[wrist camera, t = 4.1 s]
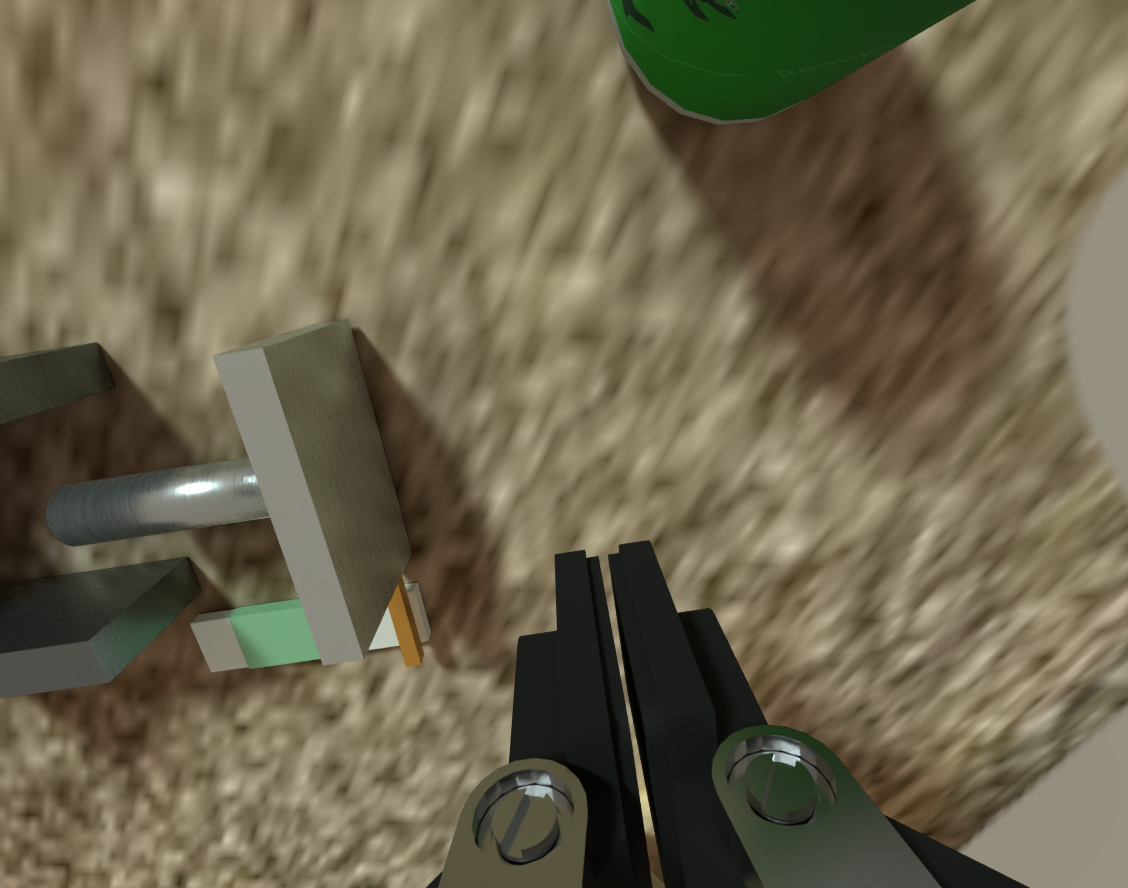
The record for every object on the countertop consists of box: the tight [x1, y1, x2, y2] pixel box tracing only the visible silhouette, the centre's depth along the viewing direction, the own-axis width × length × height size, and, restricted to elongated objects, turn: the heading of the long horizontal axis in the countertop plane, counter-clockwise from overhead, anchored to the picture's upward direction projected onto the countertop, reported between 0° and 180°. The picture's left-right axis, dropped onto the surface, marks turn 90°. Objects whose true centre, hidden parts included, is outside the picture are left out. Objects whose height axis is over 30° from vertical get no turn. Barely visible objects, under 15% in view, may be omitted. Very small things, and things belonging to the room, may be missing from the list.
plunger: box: [46, 319, 424, 667], centre depth 18 cm, size 9×13×6 cm
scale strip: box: [190, 582, 431, 673], centre depth 23 cm, size 9×2×1 cm, turn 99°
